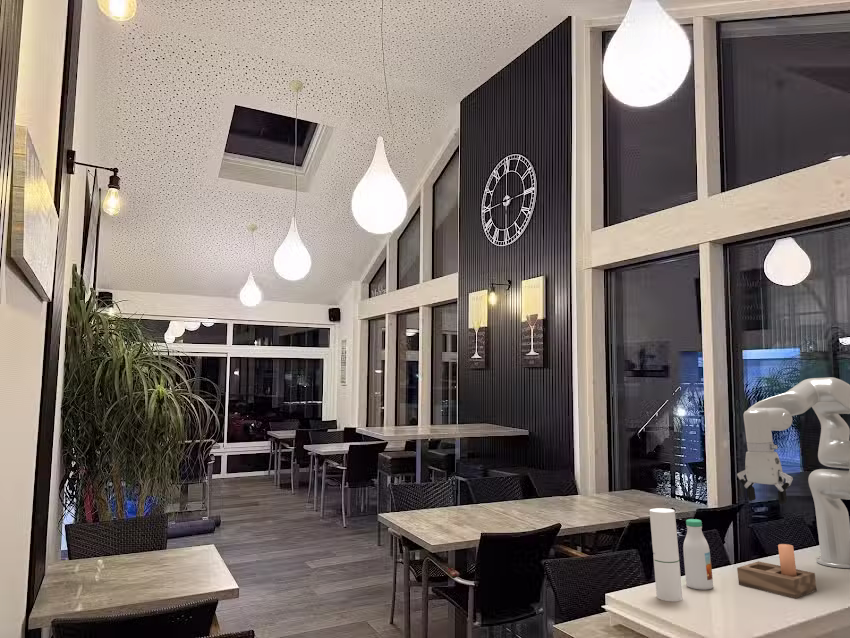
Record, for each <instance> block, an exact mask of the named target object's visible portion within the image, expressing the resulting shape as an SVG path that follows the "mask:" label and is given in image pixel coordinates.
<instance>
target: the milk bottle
mask: <svg viewBox="0 0 850 638" xmlns="http://www.w3.org/2000/svg"><path fill="white" fill-rule="evenodd" d="M702 523H703V522H702V520H701V519H697V518H695V519H694V518H689V519H686V520H685V524H686V525H685V526H686V530H687V532H686V535H685V538H684V541H683V545H682V546H683V547H682V549H683V550H682V551H683V563H684V574H685V575H684V576H685V582H686V586H687V587H688V588H691V589H695V590H702V591H703V590H704V591H705V590H706V591H707V590H712V589H713V587H714V581H713V580H714V579H713V567H712V561H711V559H712V558H711V552H710V551H711V550H710V546H709V544H708V541H707V539H706V537H705V536H704V532H703V531H702V529H703V524H702Z"/></svg>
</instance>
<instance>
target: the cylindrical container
mask: <svg viewBox="0 0 850 638" xmlns="http://www.w3.org/2000/svg"><path fill="white" fill-rule="evenodd" d="M649 520H650V521H649V523H650V532H651V545H652V553H653V555H652V556H653V557H652V558H653V566H654V567H653V568H654V578H655V579H654V580H655V591H656V598H657V599H659V600H661V601H664V602H665V601H666V602H680V601H682V600H683V586H682V578H681V577H682V576H681V567H680V565H681V564H680V553H679V545H678V544H679V543H678V533H677V532H678V531H677V522H676V521H677V520H676V511H675V509H672V508H665V507H664V508H663V507H662V508H661V507H659V508H658V507H656V508H651V509H649Z"/></svg>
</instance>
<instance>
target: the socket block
mask: <svg viewBox="0 0 850 638" xmlns="http://www.w3.org/2000/svg"><path fill="white" fill-rule="evenodd" d="M736 570H737V579H738V580H737V582H738V585H740V586H743V587H748V588H752V589H755V590H760V591H765V592H767V591H768V593H771V592H772V594H775V593H776V594H775V595H779V594H780V596H784V597H787V598H792V599H798V598H800V597H803V596H806V595H808V594H812V593H813V592H817V583H816V573H815V572H812V571H807V570H802V569H797V568H796V573H797V576H796V577H791V576H786V575H782V574H781V567H780V565H779V564H778V565H777V564H773V563H769V562H763V561H759V560H758V561H756V562H752V563H749V564H748V563H747V564H746V565H742V566H739V567H736Z"/></svg>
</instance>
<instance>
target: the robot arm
mask: <svg viewBox="0 0 850 638" xmlns="http://www.w3.org/2000/svg"><path fill="white" fill-rule="evenodd" d="M811 408H812V410H813V411H814V413H815V414H816V416H817V418H818V420H819V423H820V428H821V429H820V436H819V444H818V449H817V450H818V451H817V458H818V462H819V463H820V464H821V465H823V466H825V467H830V468H838V469H829V468H827V469H826V468H819V469H815V470H813V471H811V473H809V475H808V478H807V479H808V481H807V482H808V487H809V489H810V492H811V495H812V498H813V502H814V508H815V509H814V510H815V516H816V527H817V528H816V529H817V534H818V542H819V544H818V545H819V550H820V551H819V552H820V556H817V557H815V561H816V563H818V564H820V565H822V566H825V567H831V568H837V569H838V568H839V569H850V516H849V511H848V508H847V507H846V505H845V503H844V502H843V500H846V501H847V500H849V501H850V426H849V425H848V423H847V422H846V421H845V420H844V418H843V417H841V415H844V414H845V415H846V414H847V415H850V384H849V383H848V382H846V381H844V380H843V379H839V378H836V377H833V376H832V377H830V376H829V377H812V378H807V379H806V378H805V379H804V380H801V381H799V383H797V384H796V385H794V386H793V387H791V388H790V389H789V390H786V391H785V392H783V393H780V394H777V395H774V396H771V397H768V398H765V399H762V400H759V401H758V402H755V403H754V404H753V405H751V406H750V407H748V409H747V410H745V411H744V412H743V423H744V431H745V439H746V447H747V451H746V452H745V459H744V460H745V461H744V463H745V467H744V468H745V469H744V470H741V471H740V472H737V474H736V477H737V478H738V479H739V481H740V483H741V484H742V486H744V488H745V489H746V494H747V498H748V502H749V501H751V502H752V501H755V500H756V498H757V497H756V491H755V487H754V485H755V484H760V485H774V486H775V487H776V488H777V490H778V491H777V498H778V504H779V505H784V504H786V503H787V500H788V499H787V497H788V496H787V490H788V489H789V488H790V486H791V485H792V482H793V480H794V479H793V478H794V477H793V476H792V475H789V474H787V473H786V472H783V467H782V463H781V459H780V456H779V454H778V452H776V451H775V450H778V448H779V447H778V444H774V441H773V434H772V431H774V432H775V431H786V430H787V429H789V428H790V427H791V426H792V424H793V417H794V416H797V415H802V414H804V413H806V412H807V411H808V410H810V409H811ZM839 468H840V469H849V470H839ZM745 477H746V478H745ZM784 481H785V482H784Z"/></svg>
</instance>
